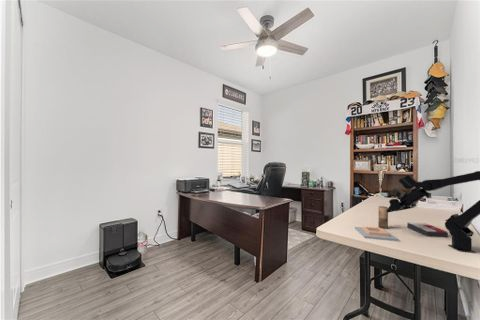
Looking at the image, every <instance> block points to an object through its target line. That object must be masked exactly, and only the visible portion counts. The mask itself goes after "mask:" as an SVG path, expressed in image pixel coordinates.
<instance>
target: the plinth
mask: <svg viewBox="0 0 480 320" xmlns="http://www.w3.org/2000/svg"><path fill="white" fill-rule="evenodd" d="M354 230H355V231H357V232H358V233H359V234H360V235H361V236H362V237H363V238H364V239H374V240H382V241H392V242H400V239H399V238H398V237H397V236H395V235H394V234H392V233H391V232H389V231H387V229H382V228H379V227H372V226H363V225H362V227H360V226H354Z"/></svg>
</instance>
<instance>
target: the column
mask: <svg viewBox="0 0 480 320" xmlns="http://www.w3.org/2000/svg"><path fill="white" fill-rule="evenodd" d="M388 208H389V207H388V206H384V205H383V206H382V205H379V206H378V220H377V221H378V227H377V228H381V229H384V230H388V229H389V212H388V213H387V209H388Z"/></svg>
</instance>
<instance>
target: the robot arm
mask: <svg viewBox="0 0 480 320" xmlns="http://www.w3.org/2000/svg"><path fill="white" fill-rule="evenodd" d="M475 181H480V170H478V171H473V172H469V173H465V174H460V175H456V176H449V177H446V178H439V179H438V178H437V179H424V180H423V181H417V180H416V179H415V178H414V177H413V176H412V175H411V174H408V175H406V176H403V177H402V178H400V179H399V180H398V183H399V185H402V187H403V188H404V189H405V190H409V191H408V192H405V191H403V190H401V189H398V188H393V189H392V190H391V191H390V195H393V196H394V197H397V198H391V199H390V200H389V201H388V202H389V207H388V209H387V213H388V214H389V213H394V212H400V211H404V210H409V209H414V208H416V207H417V203H418V202H419V201H420V200H421V199H423V198H425V197H426V199H429V198H430V199H431V198H432V191H437V190H441V189H443V188H446V187H448V186H454V185H458V184H459V185H460V184H464V183H466V184H467V183H469V182H475ZM479 215H480V199H479V200H477V202H475V203H474V204H473V205H471V206H470V207H469V208H468V209H466V210H465V211H464V212H463V213H461V214H458V213H454V214H451V215H450V216H449V218H448V219H445V220H444V221H445V222H444V227H445V228H446V230H447V231H448V233H449V234H450V237H451V244H447V246H448V247H451V248H452V249H454V250H456V251H458V252H465V253H467V252H468V253H476V252H477V251H476V250H474V249H472V244H473V243H472V237H473V235H474V234H475V233H474V231H473V230H472V229H470V228H469V226H470V225H471V223H472V221H473V220H475V219H476V218H477V217H478V216H479Z"/></svg>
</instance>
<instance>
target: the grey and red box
mask: <svg viewBox="0 0 480 320" xmlns="http://www.w3.org/2000/svg"><path fill="white" fill-rule="evenodd" d="M406 225H407V226H406V228H407V229H409V230H410V231H411V230H412V231H414V232H416V233H419V234H420V235H423V236H426V237H431V238H433V237H434V238H449V232H447V231H446V230H444V229H442V228H439V227H437V226H434V225H431V224H428V223H426V222H407V224H406Z"/></svg>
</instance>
